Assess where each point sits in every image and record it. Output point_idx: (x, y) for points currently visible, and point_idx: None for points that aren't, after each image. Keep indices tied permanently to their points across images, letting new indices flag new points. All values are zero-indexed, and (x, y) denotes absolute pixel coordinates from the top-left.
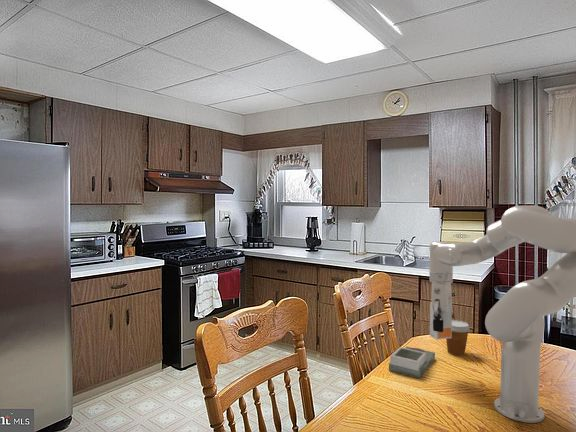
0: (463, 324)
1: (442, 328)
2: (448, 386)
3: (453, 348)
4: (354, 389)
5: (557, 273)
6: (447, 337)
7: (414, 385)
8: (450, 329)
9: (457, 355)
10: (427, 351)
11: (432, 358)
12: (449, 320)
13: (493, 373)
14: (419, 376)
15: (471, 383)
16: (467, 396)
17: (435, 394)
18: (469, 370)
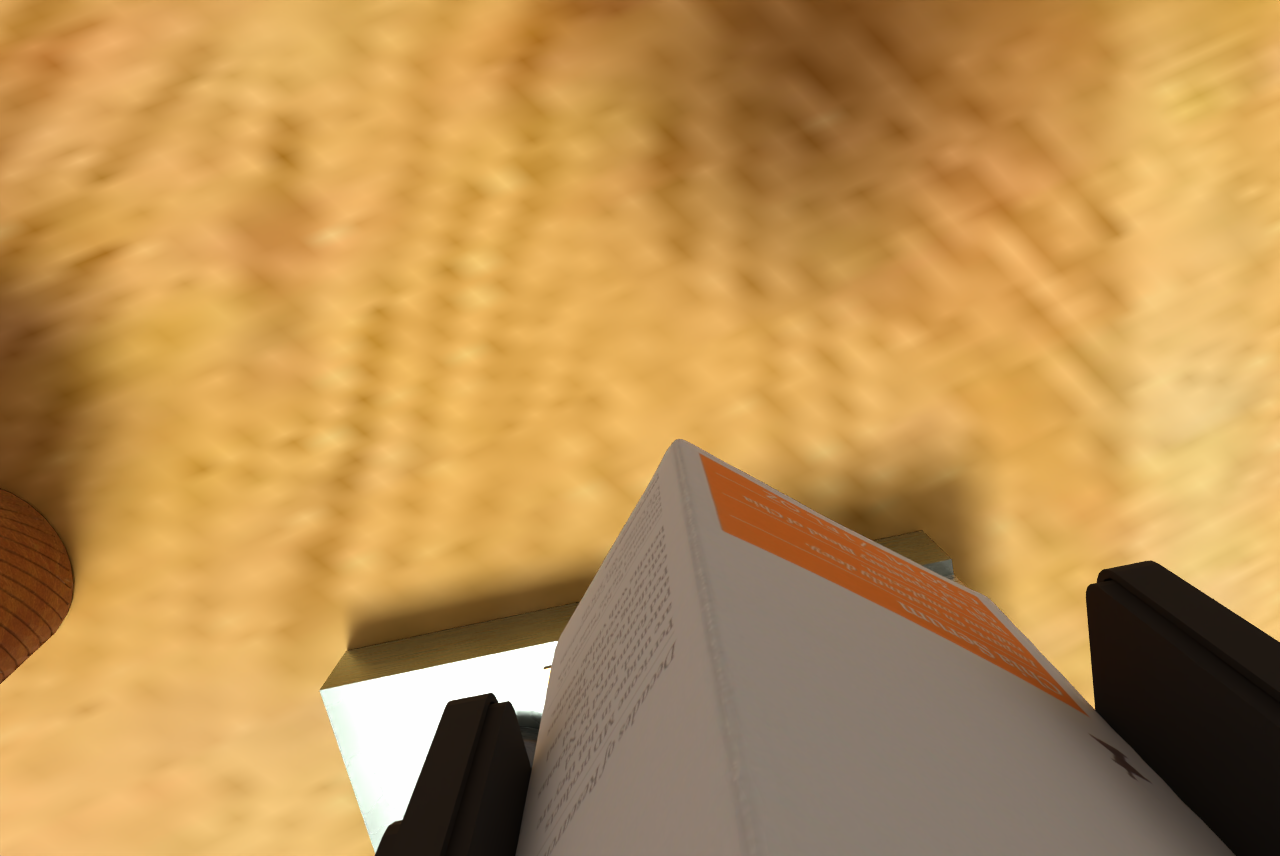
0: None
1: (1217, 610)
2: (896, 249)
3: (17, 594)
4: None
5: None
6: (773, 491)
7: (1103, 493)
8: (730, 517)
9: (45, 523)
10: (361, 759)
11: (437, 649)
12: (826, 681)
13: (178, 13)
14: (930, 541)
15: (648, 99)
16: (985, 4)
17: (1155, 263)
18: (330, 255)
